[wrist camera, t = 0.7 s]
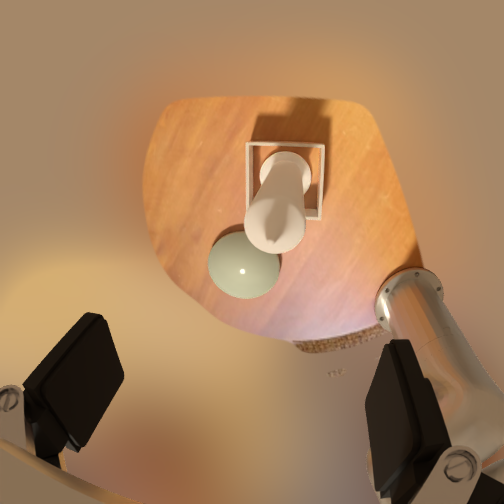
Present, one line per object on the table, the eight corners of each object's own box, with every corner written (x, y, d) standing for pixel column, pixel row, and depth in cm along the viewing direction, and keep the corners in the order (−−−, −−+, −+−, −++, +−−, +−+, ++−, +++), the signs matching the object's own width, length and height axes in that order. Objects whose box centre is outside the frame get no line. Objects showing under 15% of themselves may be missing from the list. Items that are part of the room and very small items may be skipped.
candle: (267, 144, 41) (229, 172, 18) (317, 160, 40) (344, 207, 18) (254, 192, 43) (205, 274, 21) (302, 207, 43) (305, 304, 21)
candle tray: (322, 143, 39) (324, 144, 36) (319, 211, 43) (320, 220, 40) (250, 140, 41) (245, 142, 37) (250, 208, 45) (246, 216, 41)
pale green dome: (293, 252, 46) (292, 255, 45) (259, 305, 51) (258, 309, 50) (227, 217, 46) (225, 220, 44) (199, 274, 50) (197, 278, 49)
